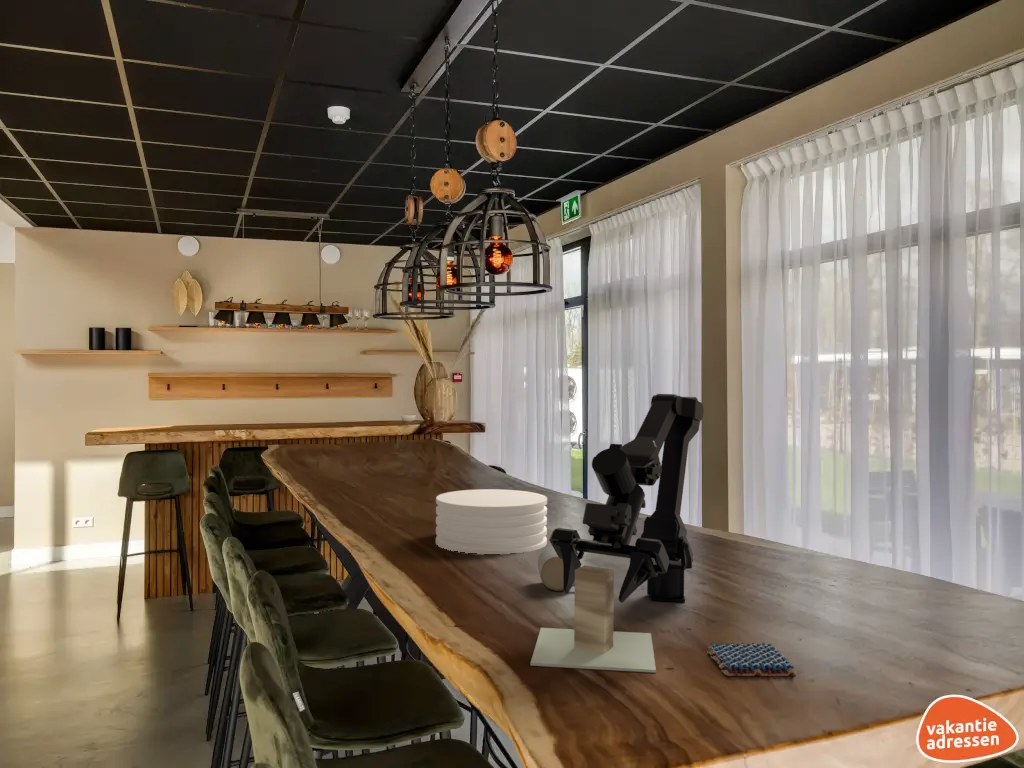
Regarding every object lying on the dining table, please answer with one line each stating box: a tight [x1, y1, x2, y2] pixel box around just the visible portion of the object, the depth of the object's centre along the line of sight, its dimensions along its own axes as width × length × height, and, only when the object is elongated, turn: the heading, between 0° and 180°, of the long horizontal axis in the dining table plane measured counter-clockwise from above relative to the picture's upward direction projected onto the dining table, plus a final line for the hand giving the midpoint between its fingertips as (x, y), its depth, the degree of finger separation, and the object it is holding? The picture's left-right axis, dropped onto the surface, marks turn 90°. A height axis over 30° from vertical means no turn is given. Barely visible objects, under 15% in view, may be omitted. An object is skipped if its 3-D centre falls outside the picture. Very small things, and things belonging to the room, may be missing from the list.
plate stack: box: [435, 488, 548, 555], centre depth 198 cm, size 28×28×12 cm
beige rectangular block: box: [573, 564, 615, 654], centre depth 121 cm, size 4×5×12 cm
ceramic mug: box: [537, 545, 575, 592], centre depth 157 cm, size 11×8×8 cm
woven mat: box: [706, 642, 797, 677], centre depth 116 cm, size 10×11×2 cm
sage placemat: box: [529, 627, 657, 674], centre depth 121 cm, size 18×16×1 cm
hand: (592, 596), depth 120 cm, fingers open, 9 cm apart
